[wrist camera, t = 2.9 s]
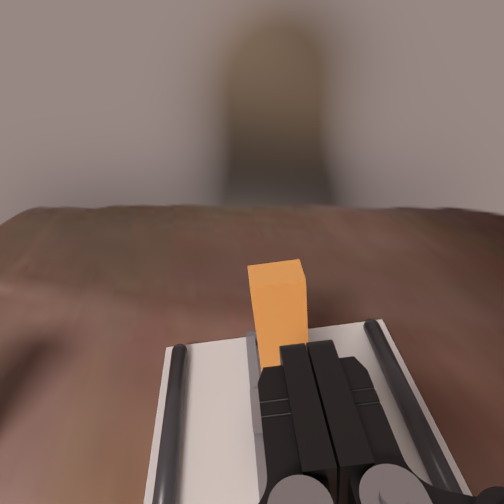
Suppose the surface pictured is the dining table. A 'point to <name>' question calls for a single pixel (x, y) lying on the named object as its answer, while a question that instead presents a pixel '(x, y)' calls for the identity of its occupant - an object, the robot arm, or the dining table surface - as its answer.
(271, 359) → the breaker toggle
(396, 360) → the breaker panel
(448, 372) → the dining table surface
